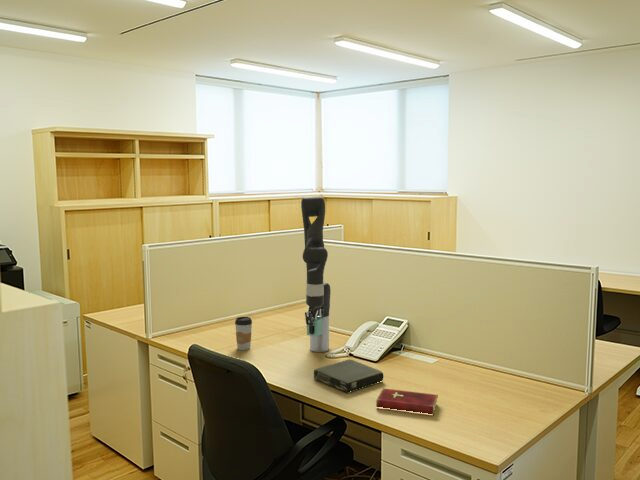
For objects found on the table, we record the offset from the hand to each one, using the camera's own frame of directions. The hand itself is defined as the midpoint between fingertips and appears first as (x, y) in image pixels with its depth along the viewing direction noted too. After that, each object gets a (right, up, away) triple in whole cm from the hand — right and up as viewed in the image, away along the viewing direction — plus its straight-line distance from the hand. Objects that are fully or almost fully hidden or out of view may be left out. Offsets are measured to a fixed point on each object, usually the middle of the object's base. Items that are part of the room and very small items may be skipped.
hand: (314, 332), depth 249 cm
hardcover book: (+35, -23, -34) cm, 54 cm away
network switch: (+14, -19, -8) cm, 25 cm away
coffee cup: (-35, -14, +35) cm, 51 cm away
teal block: (0, -1, 0) cm, 1 cm away
